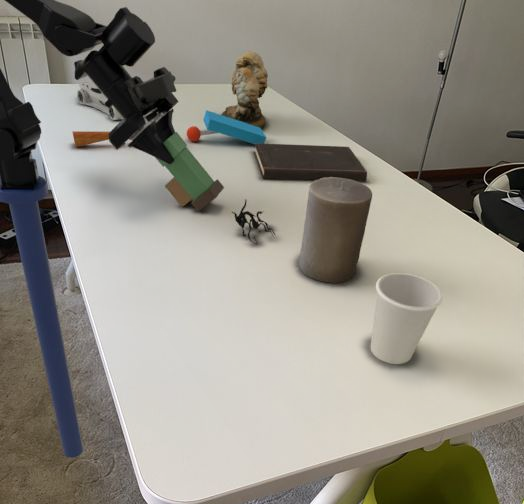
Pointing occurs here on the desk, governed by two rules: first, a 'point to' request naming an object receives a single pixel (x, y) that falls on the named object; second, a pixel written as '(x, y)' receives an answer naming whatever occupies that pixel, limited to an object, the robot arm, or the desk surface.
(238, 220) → the creature
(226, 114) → the brown mottled upright lump
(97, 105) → the car model
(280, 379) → the desk surface
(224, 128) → the lever
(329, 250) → the pillar candle
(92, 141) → the kendama
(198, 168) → the green block pillar
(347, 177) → the hardcover book
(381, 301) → the dixie cup
